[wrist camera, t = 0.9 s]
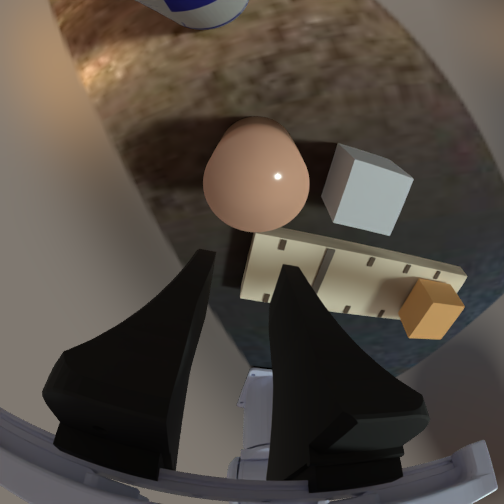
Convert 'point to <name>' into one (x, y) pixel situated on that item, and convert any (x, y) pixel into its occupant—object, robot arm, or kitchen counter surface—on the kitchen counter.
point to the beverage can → (198, 11)
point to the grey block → (365, 190)
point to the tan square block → (430, 310)
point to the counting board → (341, 272)
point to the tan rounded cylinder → (256, 176)
